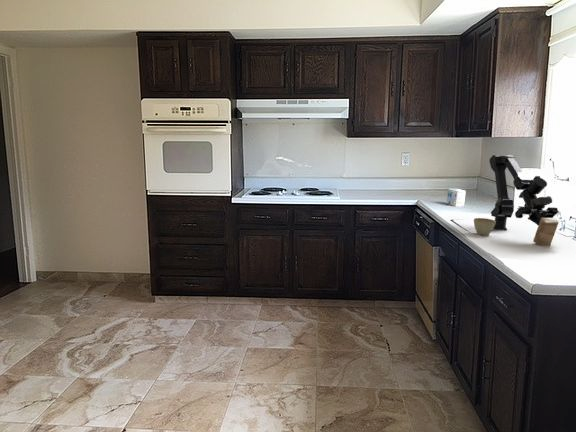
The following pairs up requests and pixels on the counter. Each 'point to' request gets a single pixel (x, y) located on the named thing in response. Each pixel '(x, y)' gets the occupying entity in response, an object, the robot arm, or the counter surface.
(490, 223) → the flower pot
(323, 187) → the counter surface
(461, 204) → the light bulb box
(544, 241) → the walnut block
